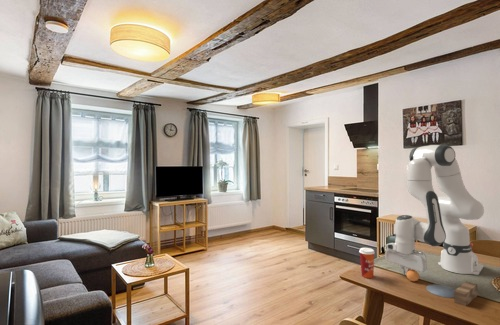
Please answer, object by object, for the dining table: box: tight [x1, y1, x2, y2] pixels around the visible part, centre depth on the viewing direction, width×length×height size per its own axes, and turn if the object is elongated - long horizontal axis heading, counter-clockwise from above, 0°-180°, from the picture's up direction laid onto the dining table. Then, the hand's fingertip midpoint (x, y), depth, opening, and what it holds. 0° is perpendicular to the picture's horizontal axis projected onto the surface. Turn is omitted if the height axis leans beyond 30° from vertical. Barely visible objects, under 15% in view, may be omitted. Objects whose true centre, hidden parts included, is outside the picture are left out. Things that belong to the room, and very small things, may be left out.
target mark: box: [425, 283, 457, 299], centre depth 130 cm, size 13×13×1 cm
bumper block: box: [453, 281, 478, 307], centre depth 122 cm, size 14×4×5 cm, turn 126°
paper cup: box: [358, 247, 376, 279], centre depth 148 cm, size 8×8×14 cm
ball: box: [406, 269, 420, 282], centre depth 141 cm, size 6×6×6 cm
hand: (405, 274), depth 144 cm, fingers closed
